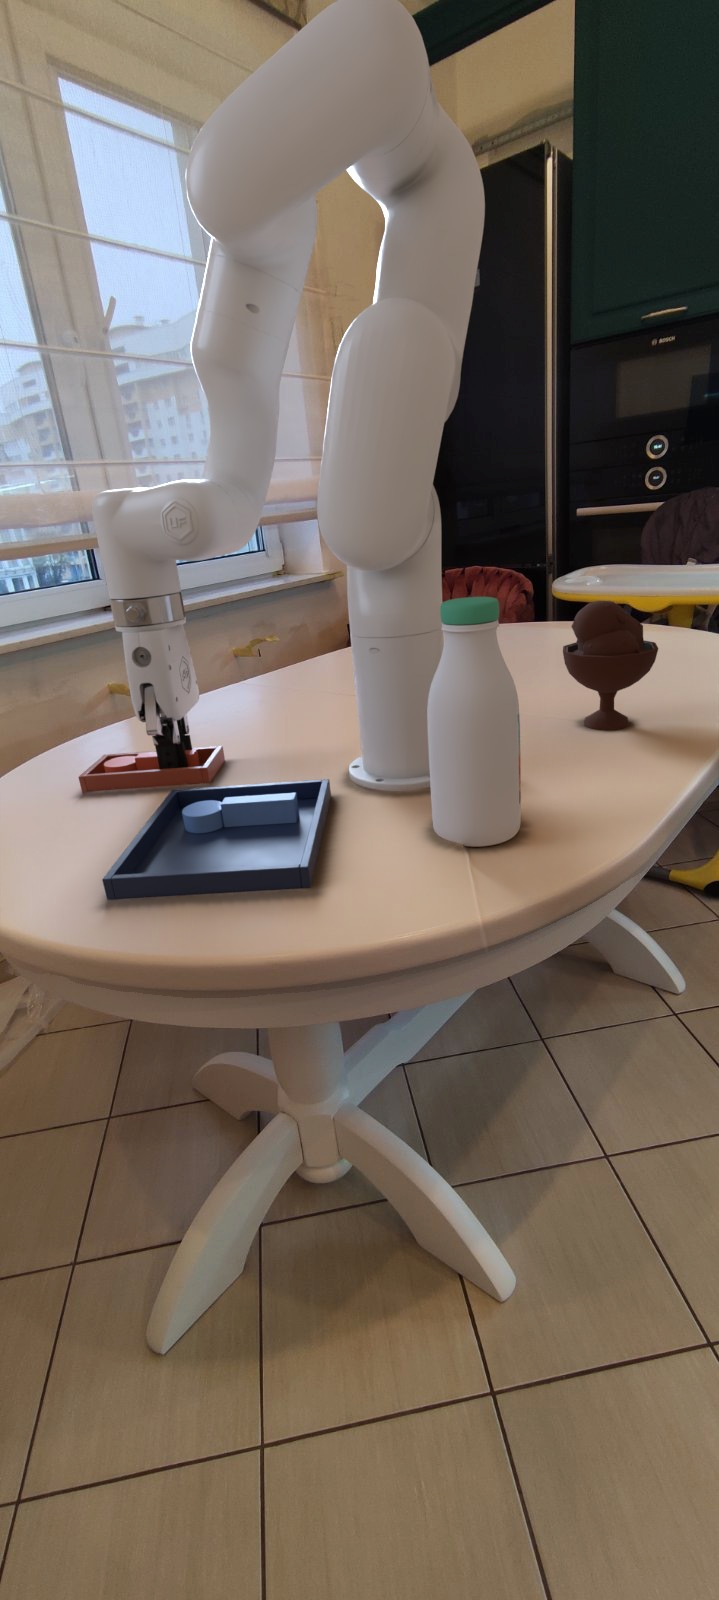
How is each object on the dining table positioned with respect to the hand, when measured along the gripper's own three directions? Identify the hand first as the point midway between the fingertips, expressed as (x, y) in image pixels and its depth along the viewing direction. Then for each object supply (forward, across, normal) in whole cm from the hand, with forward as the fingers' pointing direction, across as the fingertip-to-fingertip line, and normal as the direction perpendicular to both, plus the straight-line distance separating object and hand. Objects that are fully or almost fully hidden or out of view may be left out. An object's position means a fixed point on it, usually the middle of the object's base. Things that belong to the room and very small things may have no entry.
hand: (178, 771), depth 85 cm
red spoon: (0, 0, +3) cm, 3 cm away
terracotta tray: (+1, 0, +3) cm, 3 cm away
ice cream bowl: (+1, +9, -52) cm, 52 cm away
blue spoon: (0, -16, -11) cm, 19 cm away
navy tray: (+1, -20, -11) cm, 23 cm away
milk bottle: (+1, -20, -33) cm, 38 cm away
